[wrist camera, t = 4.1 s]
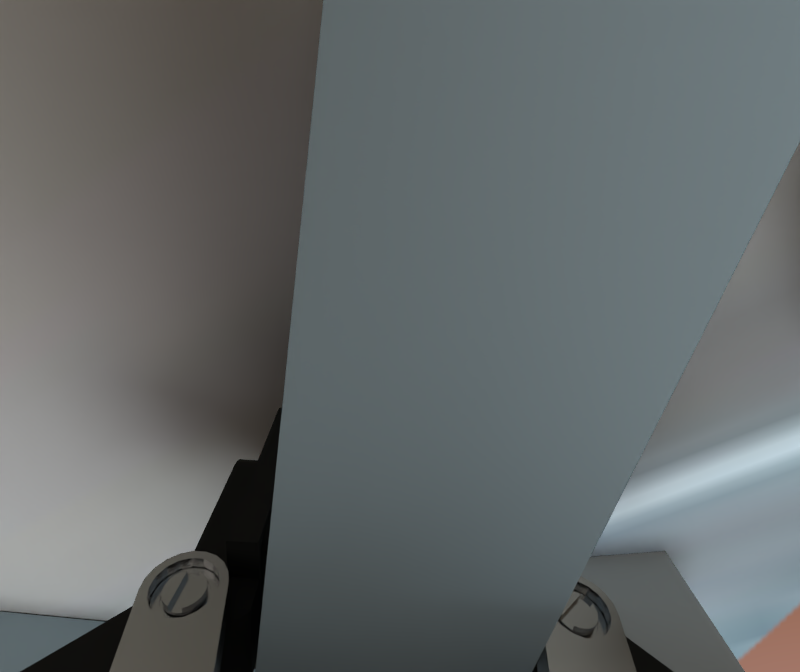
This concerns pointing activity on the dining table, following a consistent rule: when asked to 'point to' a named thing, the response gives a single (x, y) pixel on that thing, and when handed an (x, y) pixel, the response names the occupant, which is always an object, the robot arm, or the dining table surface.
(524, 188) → the crook
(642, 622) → the grey plastic stick
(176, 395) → the dining table surface
